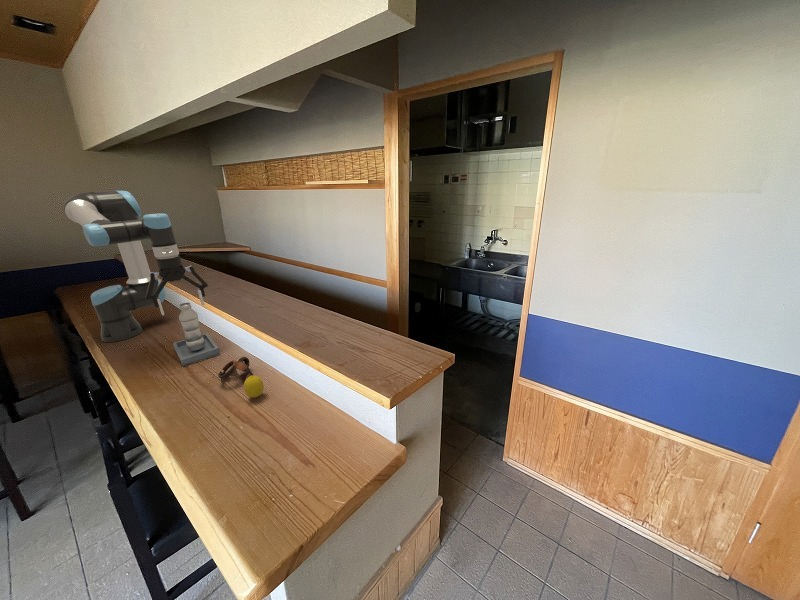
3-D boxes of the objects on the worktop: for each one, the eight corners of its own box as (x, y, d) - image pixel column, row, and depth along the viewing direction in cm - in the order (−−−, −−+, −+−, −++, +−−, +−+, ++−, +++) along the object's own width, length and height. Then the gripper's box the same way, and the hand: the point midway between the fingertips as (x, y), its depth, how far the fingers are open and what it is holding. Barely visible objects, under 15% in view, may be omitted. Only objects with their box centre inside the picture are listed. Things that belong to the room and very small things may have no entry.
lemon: (247, 394, 103) (241, 373, 100) (265, 390, 105) (260, 369, 102) (246, 404, 98) (241, 383, 95) (266, 399, 100) (260, 378, 97)
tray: (174, 349, 136) (172, 343, 135) (208, 338, 144) (207, 332, 143) (183, 367, 122) (180, 360, 121) (220, 354, 130) (218, 347, 128)
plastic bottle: (184, 352, 131) (170, 306, 124) (198, 344, 137) (186, 300, 130) (195, 354, 128) (182, 307, 122) (210, 346, 134) (198, 302, 128)
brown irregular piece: (249, 388, 108) (230, 373, 104) (229, 396, 110) (210, 383, 106) (262, 361, 117) (245, 347, 113) (243, 370, 120) (226, 357, 116)
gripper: (125, 264, 108) (145, 321, 116) (207, 252, 124) (220, 303, 131) (124, 261, 114) (143, 315, 121) (203, 249, 129) (215, 298, 137)
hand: (183, 309), depth 126 cm, fingers open, 13 cm apart
